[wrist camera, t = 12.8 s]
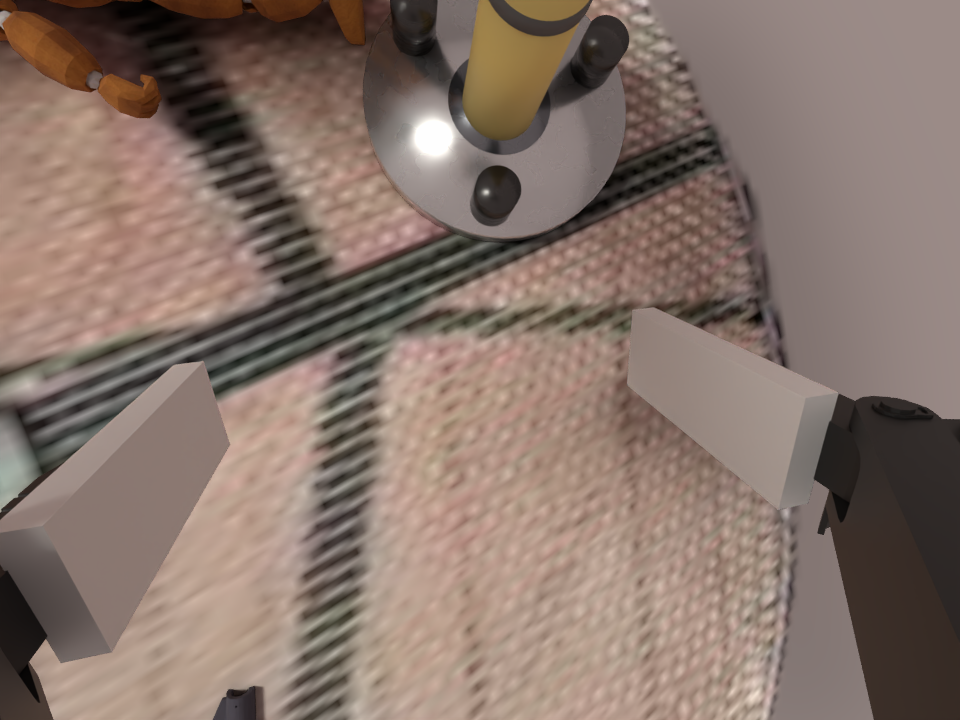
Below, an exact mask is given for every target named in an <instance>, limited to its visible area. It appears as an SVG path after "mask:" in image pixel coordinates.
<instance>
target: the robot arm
mask: <svg viewBox="0 0 960 720" xmlns="http://www.w3.org/2000/svg"><path fill="white" fill-rule="evenodd" d="M627 386H629V387H630V388H631V389H632V390H633V391H635V392H636V393H637V394H638V395H639V396H641V397H642V398H643V399H644V400H646V401H647V402H648V403H649V404H650V405H652V406H653V407H654V408H655V409H656V410H658V411H659V412H660V413H661V414H663V415H664V416H665V417H666V418H667V419H669V420H670V421H671V422H672V423H673V424H675V425H676V426H677V427H678V428H679V429H681V430H682V431H683V432H684V433H686V434H687V435H688V436H689V437H690V438H692V439H693V440H694V441H695V442H696V443H698V444H699V445H700V446H701V447H703V448H704V449H705V450H706V451H707V452H709V453H710V454H711V455H712V456H713V457H715V458H716V459H717V460H718V461H719V462H721V463H722V464H723V465H724V466H726V467H727V468H728V469H729V470H730V471H732V472H733V473H734V474H735V475H736V476H738V477H739V478H740V479H741V480H742V481H744V482H745V483H746V484H747V485H749V486H750V487H751V488H752V489H753V490H755V491H756V492H757V493H758V494H759V495H761V496H762V497H763V498H764V499H766V500H767V501H768V502H769V503H770V504H772V505H773V506H774V507H775V508H776V509H778V510H781V509H785V508H790V507H795V506H799V505H804V504H808V502H809V498H810V495H811V491H812V488H813V484H814V481H815V480H816V481H817V482H819V483H820V484H822V485H823V486H825V487H827V488H828V489H829V494H828V497H827V501H826V504H825V507H824V511H823V514H822V518H821V521H820V525H819V528H818V534H822V535H824V532H825V529H826V528H829V527H831V532H832V536H833V541H834V545H835V550H836V554H837V558H838V563H839V567H840V571H841V576H842V580H843V585H844V589H845V594H846V598H847V602H848V607H849V612H850V616H851V620H852V625H853V629H854V634H855V638H856V642H857V647H858V651H859V655H860V660H861V665H862V669H863V673H864V678H865V682H866V687H867V691H868V695H869V700H870V704H871V709H872V713H873V717H874V720H960V419H941V418H940V417H939V416H938V415H937V414H935V413H934V412H933V411H931V410H930V409H928V408H926V407H923V406H921V405H918V404H915V403H912V402H908V401H906V400H902V399H898V398H890V397H879V396H870V397H862V398H860V399H858V400H856V401H854V400H852V399H849V398H847V397H845V396H843V395H841V394H839V393H838V392H836V391H834V390H832V389H830V388H828V387H825V386H823V385H821V384H819V383H817V382H814V381H812V380H810V379H808V378H806V377H804V376H802V375H800V374H797V373H795V372H793V371H791V370H789V369H786V368H784V367H782V366H780V365H778V364H776V363H773V362H771V361H769V360H767V359H765V358H763V357H760V356H758V355H756V354H754V353H752V352H750V351H747V350H745V349H743V348H741V347H739V346H737V345H734V344H732V343H730V342H728V341H726V340H723V339H721V338H719V337H717V336H715V335H713V334H710V333H708V332H706V331H704V330H702V329H700V328H697V327H695V326H693V325H691V324H689V323H687V322H684V321H682V320H680V319H678V318H676V317H674V316H671V315H669V314H667V313H665V312H663V311H661V310H658V309H656V308H654V307H652V308H644V309H636V310H632V323H631V336H630V350H629V363H628V377H627ZM229 445H230V443H229V440H228V437H227V434H226V430H225V427H224V424H223V421H222V418H221V415H220V411H219V408H218V405H217V402H216V399H215V396H214V392H213V389H212V386H211V383H210V380H209V377H208V373H207V370H206V367H205V364H204V361H202V362H194V363H186V364H177V365H173V366H172V367H171V368H170V369H169V370H168V371H167V372H165V373H164V374H163V375H162V376H161V377H160V378H159V379H158V380H157V381H155V382H154V383H153V384H152V385H151V386H150V387H149V388H148V389H146V390H145V391H144V392H143V393H142V394H141V395H140V396H139V397H137V398H136V399H135V400H134V401H133V402H132V403H131V404H130V405H128V406H127V407H126V408H125V409H124V410H123V411H122V412H121V413H120V414H118V415H117V416H116V417H115V418H114V419H113V420H112V421H111V422H109V423H108V424H107V425H106V426H105V427H104V428H103V429H102V430H100V431H99V432H98V433H97V434H96V435H95V436H94V437H93V438H91V439H90V440H89V441H88V442H87V443H86V444H85V445H84V446H83V447H81V448H80V449H79V450H78V451H77V452H76V453H75V454H74V455H72V456H71V457H70V458H69V459H68V460H67V461H66V462H64V463H62V464H60V465H59V466H57V467H55V468H54V469H52V470H50V471H48V472H47V473H45V474H43V475H41V476H40V477H38V478H37V479H36V480H35V481H33V482H32V483H31V484H30V485H29V486H28V487H27V488H25V489H24V490H23V491H22V492H21V493H20V494H18V498H14V499H13V500H12V501H10V502H9V503H8V504H7V505H6V506H5V507H3V508H2V509H1V510H2V512H1V513H0V720H53V717H52V714H51V712H50V709H49V706H48V703H47V700H46V697H45V694H44V691H43V688H42V685H41V683H40V680H39V677H38V675H37V673H36V672H35V670H34V669H33V667H32V666H31V664H30V663H29V661H30V660H31V658H32V657H33V655H34V654H35V653H36V651H37V650H38V649H39V647H40V646H41V645H42V643H43V642H44V640H45V639H47V641H48V643H49V644H50V646H51V648H52V649H53V651H54V652H55V654H56V656H57V657H58V659H59V661H60V662H61V663H63V662H68V661H73V660H77V659H82V658H87V657H91V656H96V655H101V654H105V653H110V652H112V651H113V649H114V647H115V646H116V644H117V642H118V640H119V639H120V637H121V635H122V633H123V632H124V630H125V628H126V626H127V625H128V623H129V621H130V619H131V618H132V616H133V614H134V612H135V611H136V609H137V607H138V605H139V604H140V602H141V600H142V598H143V596H144V595H145V593H146V591H147V589H148V588H149V586H150V584H151V582H152V581H153V579H154V577H155V575H156V574H157V572H158V570H159V568H160V567H161V565H162V563H163V561H164V560H165V558H166V556H167V554H168V553H169V551H170V549H171V547H172V546H173V544H174V542H175V540H176V539H177V537H178V535H179V533H180V532H181V530H182V528H183V526H184V524H185V523H186V521H187V519H188V517H189V516H190V514H191V512H192V510H193V509H194V507H195V505H196V503H197V502H198V500H199V498H200V496H201V495H202V493H203V491H204V489H205V488H206V486H207V484H208V482H209V481H210V479H211V477H212V475H213V474H214V472H215V470H216V468H217V467H218V465H219V463H220V461H221V459H222V458H223V456H224V454H225V452H226V451H227V449H228V447H229Z"/></svg>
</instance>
